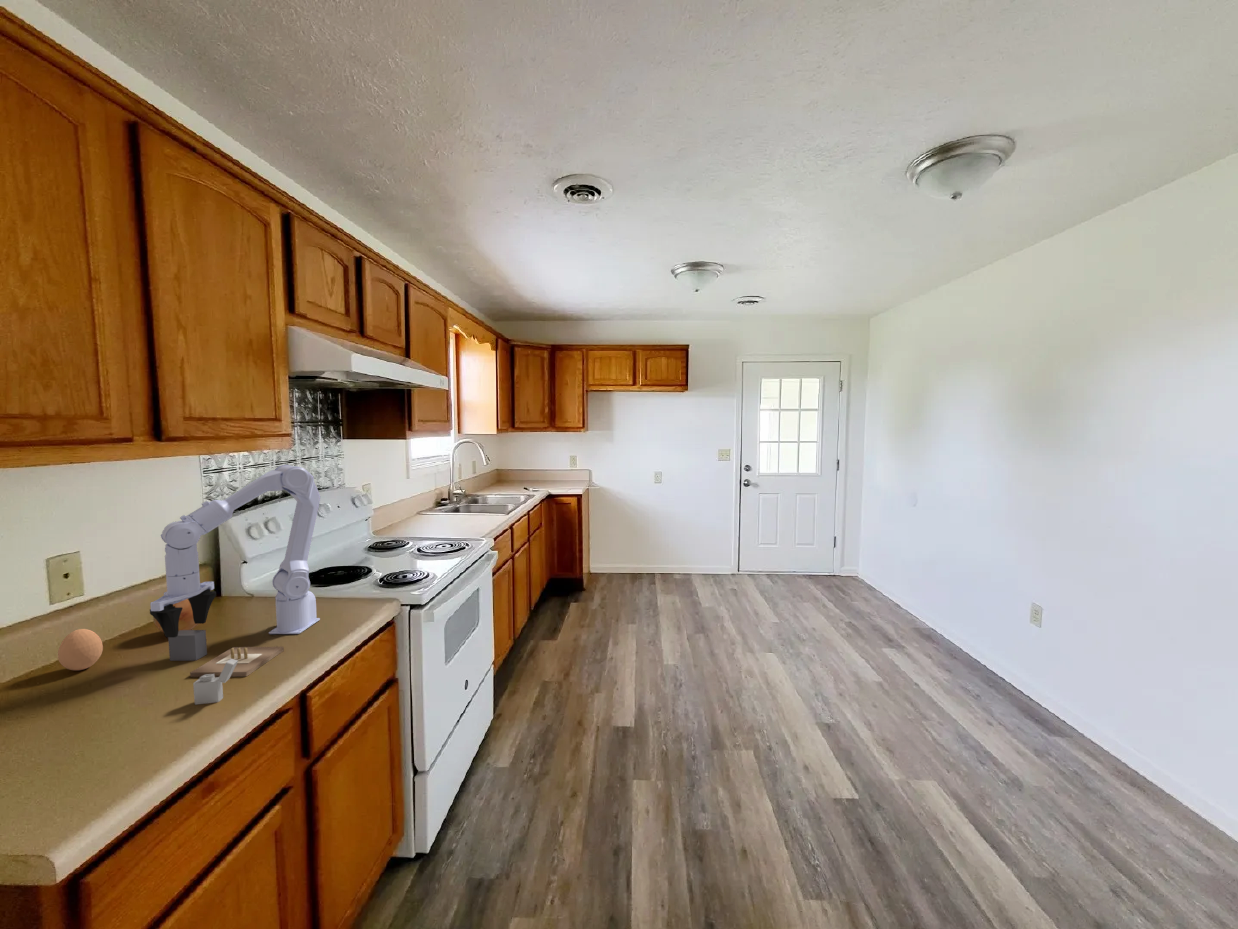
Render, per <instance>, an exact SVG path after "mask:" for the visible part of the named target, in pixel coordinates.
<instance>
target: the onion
mask: <svg viewBox="0 0 1238 929" xmlns="http://www.w3.org/2000/svg"><path fill="white" fill-rule="evenodd" d="M173 606H175V608H180V607H182V608H183V609H182V611H181V614H180V617H179V630H194V628H195V627H196V626H198V625H199V624H195V622H194V619H193V612H192V607H191V604H190V602H189V600H188V599H186V600H183V601H181V602H178V603H176V604H173ZM152 618H153V619H152V620H153V621H152V622H153V623H154V625H155V627H156V628H157V629H158V630H159V631H160V632H162V633H164V632H163V630H162V627H161V626H160V624H159V623H158V621H157V620H156V619H155V618H154V617H153V616H152ZM179 630H178V631H179Z"/></svg>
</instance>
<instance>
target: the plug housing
mask: <svg viewBox="0 0 1238 929" xmlns="http://www.w3.org/2000/svg"><path fill="white" fill-rule="evenodd" d="M206 635H207V633H206V629H192V630H179V631H178V636H177V637H169V638H167V640H168V653H169V661H172V662H173V661H174V662H175V661H177V662H179V661H182V662H183V661H198V660H200V659H201V658H204V657H205V656H207V655H208V650H207V649H208V648H207V647H208V646H207V636H206Z"/></svg>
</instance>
